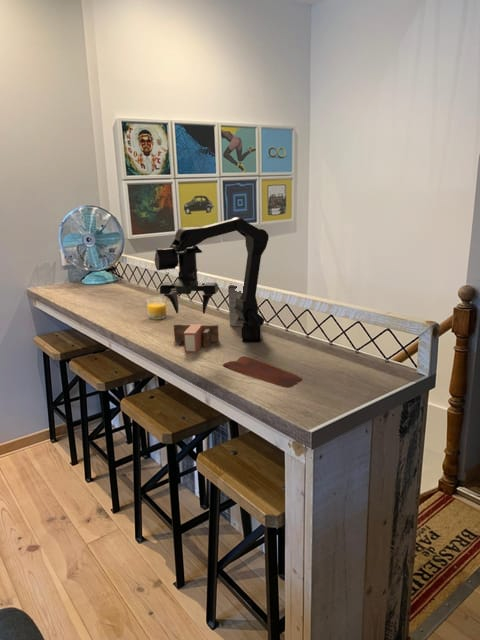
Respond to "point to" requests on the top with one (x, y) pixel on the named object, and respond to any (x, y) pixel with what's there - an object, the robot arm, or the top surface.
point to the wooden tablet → (263, 371)
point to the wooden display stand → (208, 332)
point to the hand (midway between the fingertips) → (190, 313)
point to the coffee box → (234, 318)
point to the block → (193, 338)
